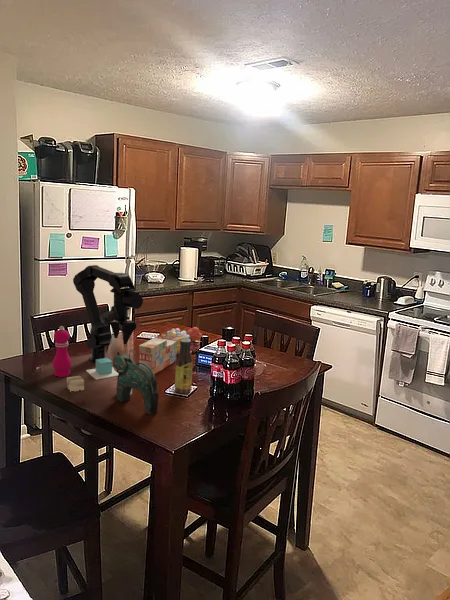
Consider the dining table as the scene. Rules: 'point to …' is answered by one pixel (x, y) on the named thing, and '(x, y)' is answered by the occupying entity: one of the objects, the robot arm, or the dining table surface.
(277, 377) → the dining table surface
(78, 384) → the birch block
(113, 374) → the white mat
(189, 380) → the sauce bottle
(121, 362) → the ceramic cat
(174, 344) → the stack of blocks
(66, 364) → the pepper mill
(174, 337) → the pastel sphere sculpture
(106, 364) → the teal block
